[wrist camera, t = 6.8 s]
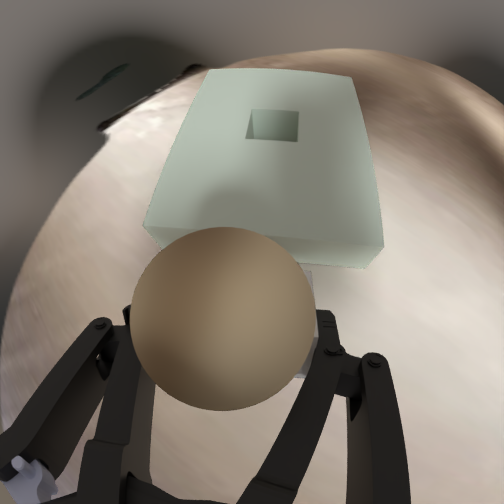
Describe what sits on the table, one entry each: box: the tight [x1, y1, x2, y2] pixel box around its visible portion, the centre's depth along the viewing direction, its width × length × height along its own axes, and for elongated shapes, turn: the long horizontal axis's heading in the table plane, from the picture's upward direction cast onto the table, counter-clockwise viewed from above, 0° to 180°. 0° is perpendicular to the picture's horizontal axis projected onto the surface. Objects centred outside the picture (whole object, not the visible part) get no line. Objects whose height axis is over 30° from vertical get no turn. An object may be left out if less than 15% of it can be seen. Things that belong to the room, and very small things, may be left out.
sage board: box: [143, 68, 384, 269], centre depth 28 cm, size 20×26×5 cm
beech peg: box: [130, 227, 316, 411], centre depth 15 cm, size 6×6×15 cm
